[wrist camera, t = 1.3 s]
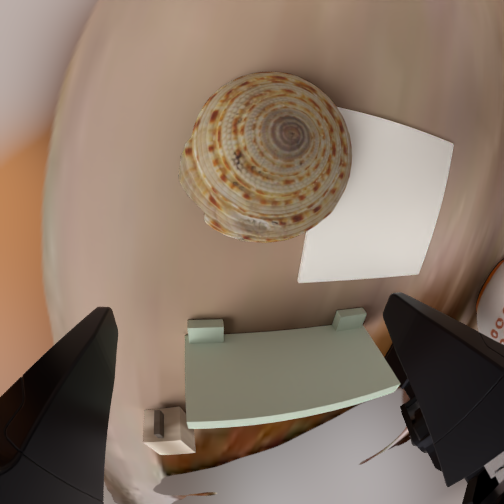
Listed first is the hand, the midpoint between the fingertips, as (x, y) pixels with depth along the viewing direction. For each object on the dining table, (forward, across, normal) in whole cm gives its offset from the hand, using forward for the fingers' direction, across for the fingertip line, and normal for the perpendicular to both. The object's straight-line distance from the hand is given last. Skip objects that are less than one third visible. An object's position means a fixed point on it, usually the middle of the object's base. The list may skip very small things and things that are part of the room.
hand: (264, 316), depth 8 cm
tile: (+8, -10, -1) cm, 13 cm away
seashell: (+8, 0, 0) cm, 8 cm away
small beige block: (+8, +6, +22) cm, 24 cm away
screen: (+8, -4, +9) cm, 13 cm away
